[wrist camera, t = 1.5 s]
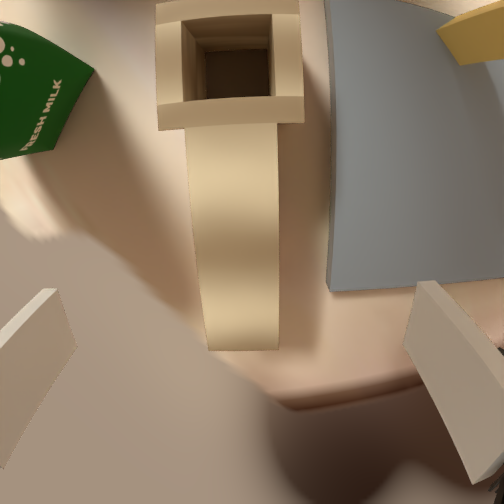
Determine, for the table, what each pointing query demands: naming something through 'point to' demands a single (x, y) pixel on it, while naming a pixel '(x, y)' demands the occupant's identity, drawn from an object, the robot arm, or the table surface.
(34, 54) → the milk carton
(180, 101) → the link
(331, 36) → the deck
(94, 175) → the table surface
